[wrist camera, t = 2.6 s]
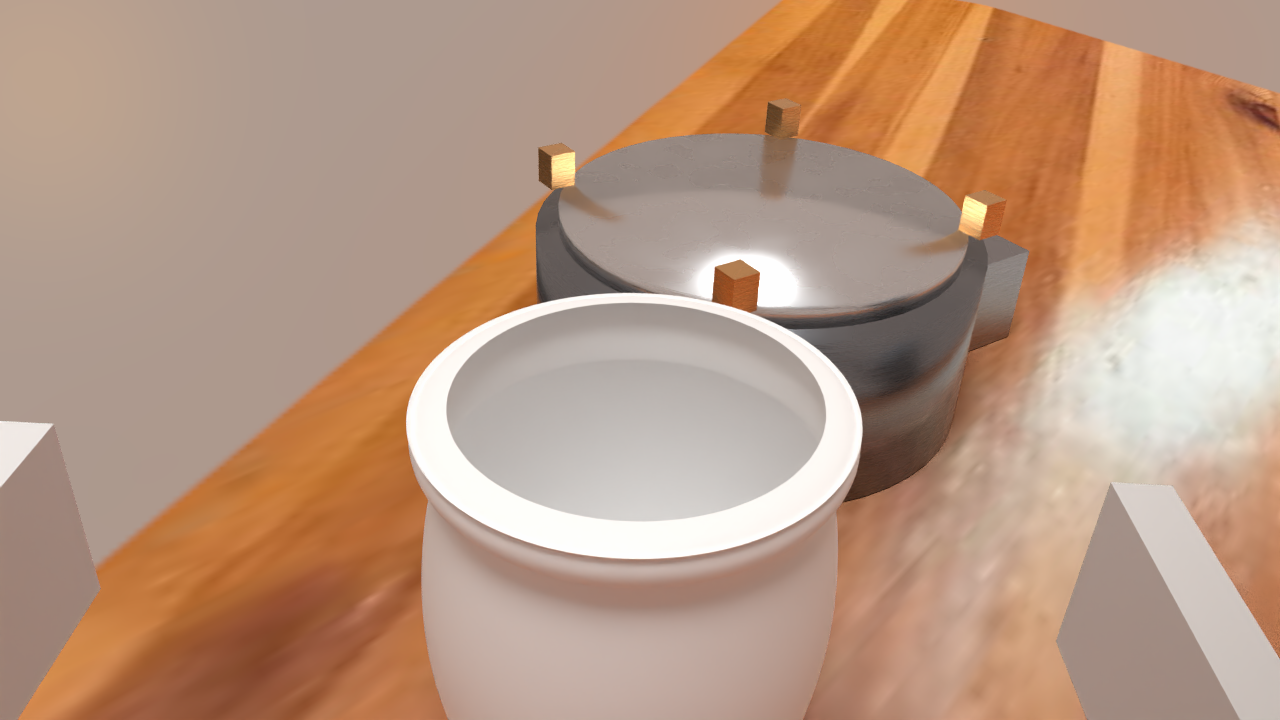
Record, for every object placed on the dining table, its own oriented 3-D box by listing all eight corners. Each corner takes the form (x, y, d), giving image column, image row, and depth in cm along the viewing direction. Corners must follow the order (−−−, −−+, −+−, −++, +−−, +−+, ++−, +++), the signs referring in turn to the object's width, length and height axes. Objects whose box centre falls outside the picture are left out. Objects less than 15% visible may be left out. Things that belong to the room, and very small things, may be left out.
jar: (685, 1066, 27) (735, 632, 19) (368, 860, 31) (301, 435, 23) (846, 760, 35) (930, 361, 27) (575, 628, 39) (578, 251, 31)
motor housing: (829, 234, 68) (853, 64, 62) (1104, 391, 54) (1167, 189, 48) (467, 337, 56) (456, 138, 50) (698, 572, 42) (719, 333, 36)
